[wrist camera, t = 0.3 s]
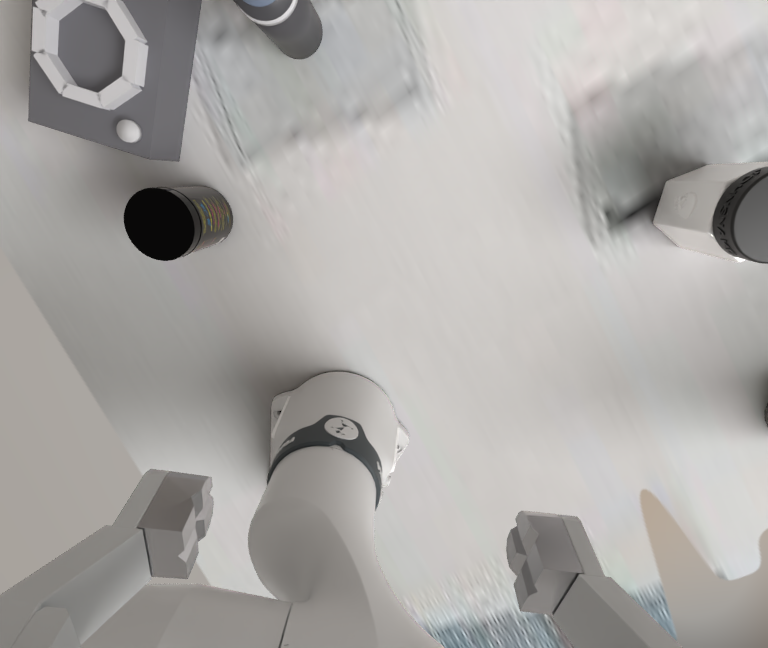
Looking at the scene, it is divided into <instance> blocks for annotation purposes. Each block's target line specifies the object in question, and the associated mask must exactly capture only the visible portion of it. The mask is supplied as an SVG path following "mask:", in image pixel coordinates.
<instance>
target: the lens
mask: <svg viewBox="0 0 768 648" xmlns="http://www.w3.org/2000/svg"><path fill="white" fill-rule="evenodd" d="M234 2H235V3H236V4H237V6H238V7H239V9H240V10H241V11H242V12H243V13H244V14H245V15H246V16H247V17H248V18H249V19H250V20H252V21H253V22H254V23H255V24H256V25H257V26H258V27H259V28H260V29H261V30H262V31H263V32H264V33H265V34H266V35H267V36H268V37H269V38H270V39H271V40H272V41H273V42H274V43H275V44H276V45H277V46H278V47H279V48H280V49H281V51H282V52H283V53H285V54H286V55H287V56H289V57H291V58H294V59H304V58H307V57H309V56H311V55H312V54H314V53H315V52H316V50H317V49H318V47H319V46H320V43H321V40H322V33H323V31H322V24H321V21H320V18H319V16H318V14H317V12H316V10H315V9H314V7H313V5H312V3H311V1H310V0H234Z"/></svg>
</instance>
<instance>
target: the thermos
mask: <svg viewBox="0 0 768 648" xmlns="http://www.w3.org/2000/svg"><path fill="white" fill-rule="evenodd" d="M765 421H766V424H767V426H768V404H767V407H766V410H765Z"/></svg>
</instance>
